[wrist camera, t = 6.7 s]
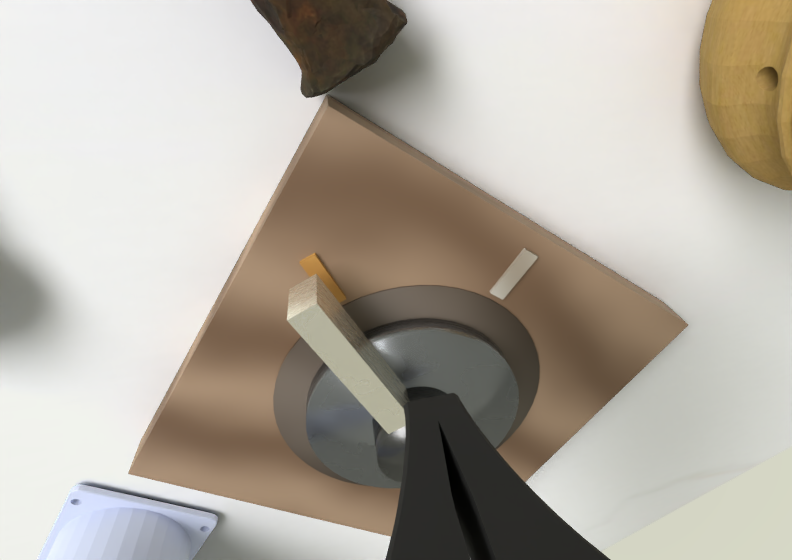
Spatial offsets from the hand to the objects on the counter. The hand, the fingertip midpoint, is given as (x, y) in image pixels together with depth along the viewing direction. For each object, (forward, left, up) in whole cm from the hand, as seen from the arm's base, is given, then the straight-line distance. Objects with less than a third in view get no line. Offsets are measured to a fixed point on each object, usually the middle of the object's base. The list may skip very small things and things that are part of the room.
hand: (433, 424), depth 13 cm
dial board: (-6, -5, -10) cm, 13 cm away
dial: (-5, -3, -8) cm, 10 cm away
